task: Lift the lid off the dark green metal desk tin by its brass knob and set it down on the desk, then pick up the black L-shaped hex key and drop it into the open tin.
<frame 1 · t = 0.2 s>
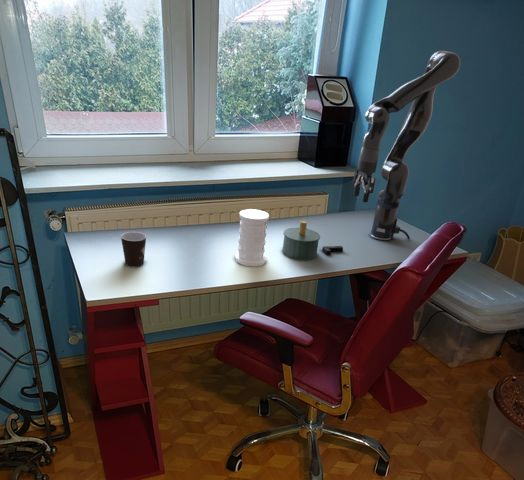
hand: (360, 198, 224), 17 cm above the table, tool pointing down, fingers open, 8 cm apart
tin lid: (301, 235, 209), point 7 cm above the table, touching tin
coffee mug: (137, 262, 191), on the table
decorative container: (250, 260, 202), on the table
hex key: (332, 251, 218), on the table
tin: (299, 253, 213), on the table
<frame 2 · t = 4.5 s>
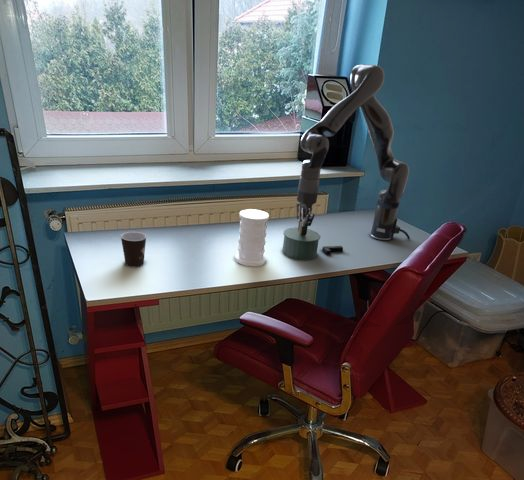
hand: (302, 233, 208), 8 cm above the table, tool pointing down, fingers closed on tin lid, 2 cm apart
tin lid: (301, 235, 209), point 7 cm above the table, touching gripper, tin
everything else where it was.
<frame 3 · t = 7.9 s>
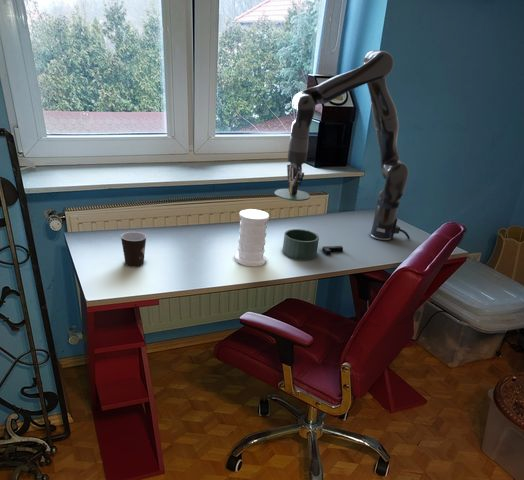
hand: (292, 193, 217), 19 cm above the table, tool pointing down, fingers closed on tin lid, 2 cm apart
tin lid: (292, 195, 217), point 18 cm above the table, touching gripper
everything else where it was.
when the fingers open (1 cm above the table, at t = 11.2 s): tin lid stays where it is, point 1 cm above the table.
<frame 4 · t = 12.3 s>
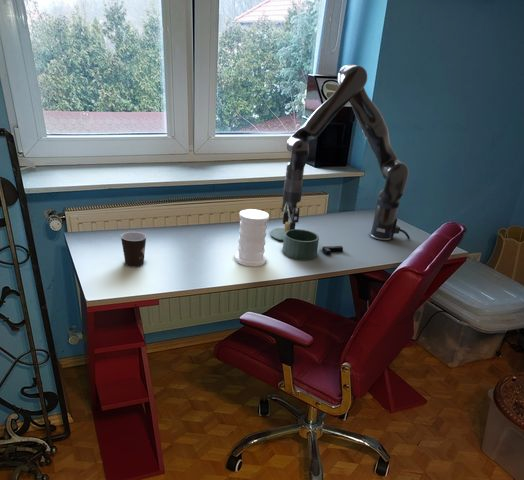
hand: (288, 227, 225), 4 cm above the table, tool pointing down, fingers open, 8 cm apart
tin lid: (286, 235, 227), point 1 cm above the table
everything else where it was.
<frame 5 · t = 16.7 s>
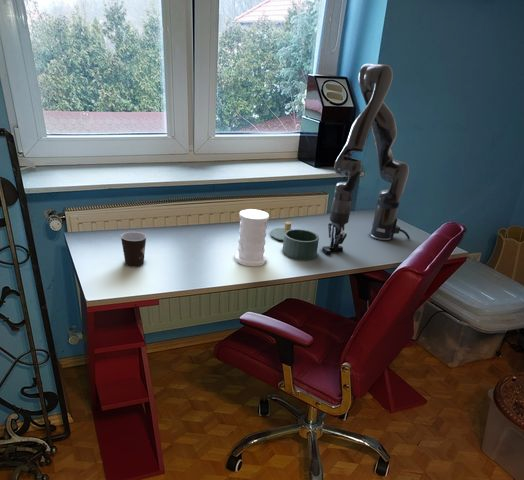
hand: (333, 250, 218), 0 cm above the table, tool pointing down, fingers closed on hex key, 2 cm apart
hex key: (332, 251, 218), on the table, touching gripper
everything else where it was.
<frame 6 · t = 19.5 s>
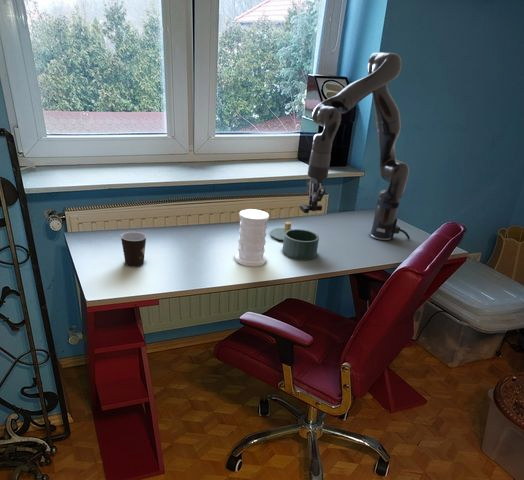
hand: (312, 209, 205), 17 cm above the table, tool pointing down, fingers closed on hex key
hex key: (310, 209, 205), point 17 cm above the table, touching gripper
everything else where it was.
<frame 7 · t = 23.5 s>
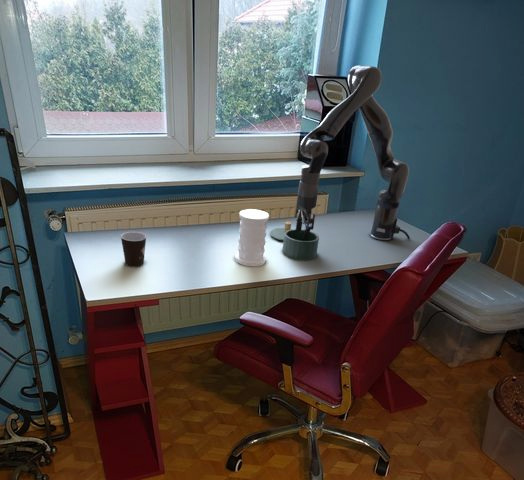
hand: (302, 234, 210), 7 cm above the table, tool pointing down, fingers open, 8 cm apart
hex key: (298, 250, 214), resting on tin
everything else where it was.
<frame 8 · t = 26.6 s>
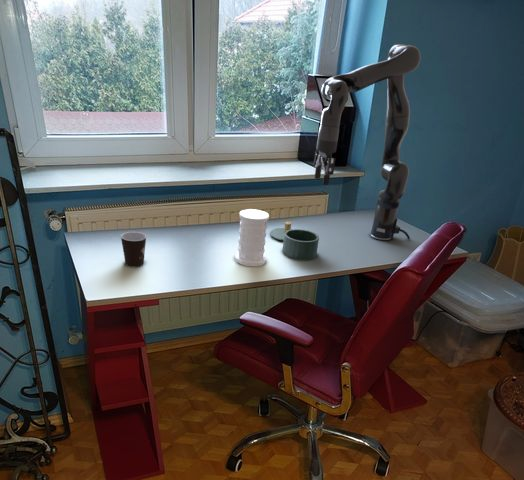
hand: (321, 181, 208), 26 cm above the table, tool pointing down, fingers open, 8 cm apart
nothing on the table moved.
at the end: tin lid inside the target area (0.1 cm from its centre), point 0.6 cm above the table; tin lid tilted 0°; hex key inside the target area in the tin (1.4 cm from its centre), point 0.5 cm above the tin's base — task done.
